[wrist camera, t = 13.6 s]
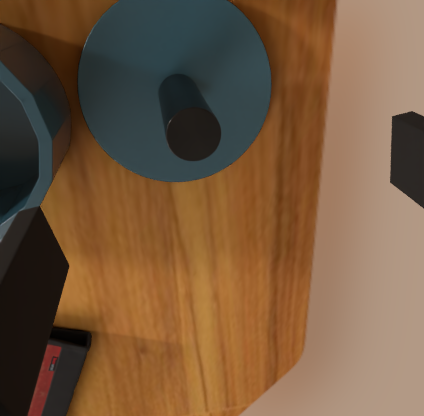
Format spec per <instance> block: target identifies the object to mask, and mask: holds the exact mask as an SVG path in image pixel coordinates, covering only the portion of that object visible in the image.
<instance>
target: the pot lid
mask: <svg viewBox="0 0 424 416" xmlns="http://www.w3.org/2000/svg"><path fill="white" fill-rule="evenodd" d="M77 81H78V96H79V101H80V106H81V110H82V113H83V116H84V119H85V121H86V123H87V125H88V128H89V130H90V131H91V133H92V135H93V136H94V138H95V139H96V141H97V142H98V143H99V145H100V146H101V147H102V148H103V150H104V151H105V152H106V153H107V154H108V155H109V156H110V157H111V158H113V159H114V160H115V161H116V162H118V163H119V164H120V165H122V166H123V167H125V168H127V169H128V170H130V171H132V172H134V173H136V174H139V175H141V176H143V177H147V178H150V179H154V180H159V181H165V182H185V181H192V180H197V179H201V178H204V177H207V176H210V175H212V174H215V173H217V172H219V171H221V170H223V169H224V168H226V167H227V166H229V165H230V164H232V163H233V162H234V161H236V160H237V159H238V158H239V157H240V156H241V155H242V154H243V153H244V152H245V151H246V150H247V149H248V148H249V146H250V145H251V144H252V143H253V141H254V140H255V138H256V136H257V135H258V133H259V132H260V130H261V127H262V125H263V123H264V121H265V118H266V115H267V112H268V108H269V103H270V98H271V84H272V83H271V70H270V65H269V59H268V56H267V53H266V50H265V47H264V44H263V42H262V40H261V38H260V36H259V34H258V32H257V31H256V29H255V28H254V26H253V25H252V23H251V22H250V21H249V20H248V18H247V17H246V16H245V15H244V14H243V13H242V12H241V11H240V10H239V9H238V8H237V7H236V6H235V5H233V4H232V3H231V2H229V1H228V0H119V1H118V2H117V3H115V4H114V5H112V6H111V7H110V8H109V9H108V10H107V11H106V12H105V13H104V14H103V15H102V16H101V18H100V19H99V20H98V22H97V23H96V24H95V25H94V27H93V29H92V31H91V32H90V34H89V36H88V38H87V40H86V42H85V45H84V47H83V50H82V53H81V58H80V62H79V67H78V78H77Z"/></svg>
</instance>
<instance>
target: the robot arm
mask: <svg viewBox="0 0 424 416" xmlns="http://www.w3.org/2000/svg"><path fill="white" fill-rule="evenodd" d="M390 183H392V184H393V185H394V186H396V187H397V188H398V189H399V190H401V191H402V192H403V193H405V194H406V195H407V196H408V197H410V198H411V199H412V200H414V201H415V202H416V203H418V204H419V205H420V206H421V207H423V208H424V116H422V115H419V114H417V113H415V112H413V111H411V112H408V113H403V114H399V115H396V116H392V141H391V176H390ZM68 269H69V264H68V262H67V260H66V258H65V256H64V254H63V252H62V250H61V248H60V246H59V244H58V242H57V240H56V238H55V236H54V234H53V232H52V230H51V228H50V226H49V224H48V222H47V220H46V218H45V216H44V214H43V212H42V210H41V208H40V206H37V207H33V208H29V209H25V210H22V211H18V213H17V215H16V216H15V218H14V220H13V222H12V223H11V225H10V227H9V228H8V230H7V232H6V234H5V235H4V237H3V239H2V241H1V242H0V416H28V412H29V409H30V405H31V402H32V398H33V394H34V391H35V387H36V384H37V380H38V377H39V373H40V369H41V366H42V362H43V359H44V355H45V351H46V348H47V344H48V341H49V337H50V334H51V330H52V326H53V323H54V319H55V316H56V312H57V308H58V305H59V301H60V298H61V294H62V291H63V287H64V283H65V280H66V276H67V273H68Z"/></svg>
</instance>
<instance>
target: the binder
mask: <svg viewBox="0 0 424 416" xmlns="http://www.w3.org/2000/svg"><path fill="white" fill-rule="evenodd" d="M91 338H92V335H91V333H90V332H84V331H77V330H68V329H59V328H52V330H51V334H50V337H49V341H48V344H47V348H46V351H45V355H44V359H43V362H42V366H41V369H40V373H39V377H38V380H37V384H36V387H35V391H34V394H33V398H32V402H31V405H30V409H29V412H28V416H66V414H67V411H68V408H69V405H70V402H71V400H72V397H73V393H74V390H75V387H76V384H77V382H78V379H79V376H80V373H81V370H82V367H83V364H84V361H85V358H86V355H87V351H89V349H90V346H91Z"/></svg>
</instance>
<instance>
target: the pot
mask: <svg viewBox="0 0 424 416" xmlns="http://www.w3.org/2000/svg"><path fill="white" fill-rule="evenodd" d="M70 134H71V111H70V107H69V103H68V100H67V97H66V93H65V91H64V88H63V86H62V84H61V82H60V80H59V78H58V76H57V75H56V73H55V72H54V70H53V68H52V67H51V66H50V64H49V63H48V62H47V61H46V59H45V58H44V57H43V56H42V55H41V54H40V53H39V52H38V51H37V50H36V49H35V48H34V47H33V46H32V45H31V44H30V43H29V42H28V41H26V40H25V39H24V38H22V37H21V36H20V35H18V34H17V33H15V32H13V31H12V30H10V29H9V28H7V27H5V26H3V25H1V24H0V242H1V241H2V239H3V237H4V235H5V234H6V232H7V230H8V228H9V227H10V225H11V223H12V222H13V220H14V218H15V216H16V215H17V213H18V211H22V210H25V209H29V208H33V207H37V206H40V205H41V203H42V201H43V199H44V197H45V195H46V193H47V191H48V189H49V187H50V185H51V183H52V181H53V179H54V177H55V175H56V173H57V171H58V169H59V166H60V164H61V162H62V160H63V158H64V156H65V154H66V152H67V150H68V147H69V145H70Z"/></svg>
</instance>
